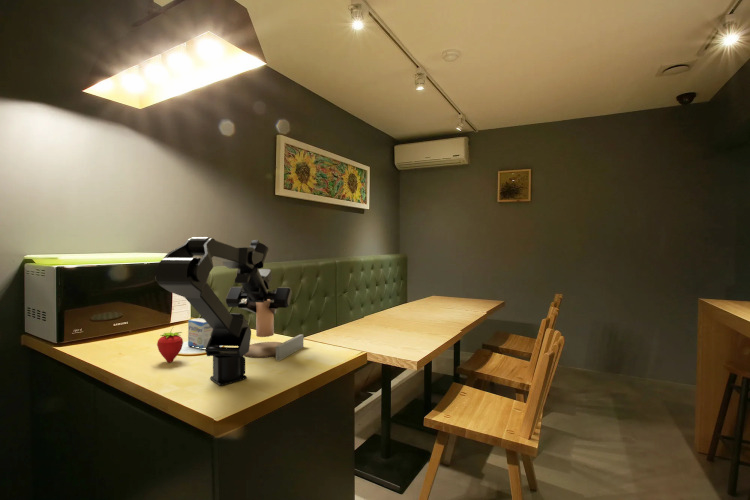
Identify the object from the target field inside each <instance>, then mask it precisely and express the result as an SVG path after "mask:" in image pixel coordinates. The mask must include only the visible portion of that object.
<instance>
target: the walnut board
mask: <svg viewBox="0 0 750 500" xmlns="http://www.w3.org/2000/svg"><path fill="white" fill-rule="evenodd" d="M281 343H282V342H279V341H263V342H262V341H261V342H257V343H255V342H254V343H250V346H249V352H247V353H246V354H244V355H243V357H245V358H246V357H247V358H251V359H252V358H255V359H256V358H257V359H262V358H270V357H276V346H277V345H279V344H281Z"/></svg>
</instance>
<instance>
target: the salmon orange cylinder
mask: <svg viewBox="0 0 750 500" xmlns="http://www.w3.org/2000/svg"><path fill="white" fill-rule="evenodd" d="M270 302H271V301H270V299H267V301H264V302H255V303H256V315H255V319H256V320H255V325H256V326H255V330H256V331H255V336H256V337H258V338H268V337H272V336H274V335H275V334H274V333H275V329H274V328H275V327H274V326H275V320H274V318H275V317H274V316H275V314H273V313H272V312H271V310H270V309H269V305H270Z"/></svg>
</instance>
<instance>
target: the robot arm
mask: <svg viewBox="0 0 750 500" xmlns="http://www.w3.org/2000/svg"><path fill="white" fill-rule="evenodd" d="M269 249H270V248H269V247H268V246H267V245H266V244H264V243H261V242H260V241H259V240H258V239H254V240H252V239H251V241H250V245H249V246H234V245H231V244H228V243H224V242H221V241H218V240H216V239H215V238H213V237H211V236H210V237H209V236H208V237H207V236H203V237H202V236H198V237H196V236H192V237H191V238H188V239H187V240H186V241H185V242H184V243H183V244H182V245H180V246H178V247H177V248H175V249H172V250H170V251H169V252H168V253H166V255H164V257H163V258H162V259H161V260H160V261H159V263H158V264H157V265H156V266H155V268H154V277H155V278H154V279H155V281H156V283H157V284H158V286H159V287H161V288H163V289H165V290H166V291H168V292H169V293H172V294H175V295H178V296H180V297H183V298H185V300H186V301H188V303H189V304H190V305H191V306H192V307H193V308H194V310H196V312H197V313H198V314H199V315H200V316H201V318H202V319H204V320H205V321H206V322H207V323H208V324H209V325H210V326H211V327H212V329H213V330H212V333H211V337H210V340H209V342H208V344H207V347H206V349H205V352H206V357H212V375H211V376H210V378H209V379H210V380H211V381H212V382H213V383H216V384H217V385H219V386H225V385H229V384H232V383H236V382H239V381H242V380H243V381H244V380H245V379H247V378H248V377H247V375H245V374H246V356H243V355H244V354H246V353H247V352H249V346H250V345H251V340H252V339H251V338H252V330H251V327H250V326H249V324H248V323H249V321H248V320H247V319H246V318H245V316H244V315H243V314H242V313H231V312H229V310H228V309H227V307H228V308H238V309H242V310H245V311H248V312H251V313H253V314H256V302H264V301H267V299H270V301H271V302H270V305H269V309H270V310H271V312H272V313H273V314H274V315H276V314H277V310H278V309H279V308H283V309H287V308H288V307H290V303H291V299H292V295H293V289H292V288H291V287H289V286H287V287H286V286H278V287H277V288H276V289H273V290H272V291H271V290H270V288H271V284H270V283H271V281H273V274H272V270H271V269H269V268H264V265H265V263H266V261H267V257H268V255H269V252H270V250H269ZM200 257H201V258H200ZM213 260H214V261H218V262H222V265H223V266H224V267H226V268H228V269H231V270H232V269H234V270H236V269H237V270H236V272H235V274H236V276H235V278H234V283H235V284H241V286H231V287H230V288H229V290H228V292H227V294H226V296H225V298H224V299H225V301H224V302H225V304H226V306H227V307H226V306H225V305H224V304H223V302H222V301H221V300H220V298H219V297H218V296H217V294H216V293H215V292H214V290H213V289H212V287H210V285H209V284H208V281H209V278H210V273H211V271H212V270H213V268H214V263H213Z"/></svg>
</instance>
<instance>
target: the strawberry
mask: <svg viewBox="0 0 750 500" xmlns="http://www.w3.org/2000/svg"><path fill="white" fill-rule="evenodd" d="M173 328H174V326H172V328H171V330H173ZM181 333H183V332H181V331H179V332H177V331H176V332H174V333H173V332H172V331H170V332H163V334H160V337H159V339H157V343H156V346H157V350H158V352H159V353H160V354H161V357H163V358H164V359H165V361H166V362H167V363H169V364H171V363H172V362H173V361H174V360H175V359H176V358H177V356H178V355H179V353H180V352H181V350H182V348H183V345H184V340H183V337H182V336H181Z"/></svg>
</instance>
